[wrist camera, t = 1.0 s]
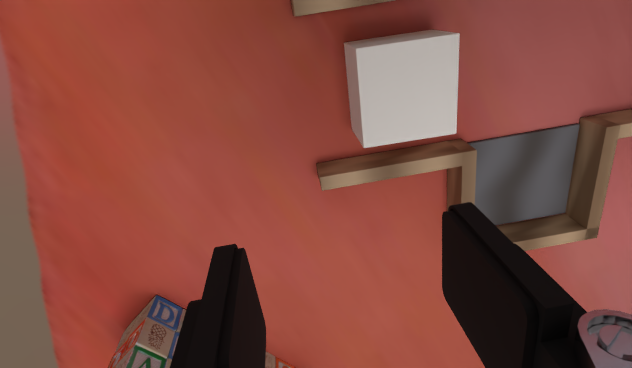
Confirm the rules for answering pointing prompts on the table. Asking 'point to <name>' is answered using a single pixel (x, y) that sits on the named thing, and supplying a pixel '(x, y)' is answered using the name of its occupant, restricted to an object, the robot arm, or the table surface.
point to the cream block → (403, 86)
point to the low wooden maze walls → (504, 169)
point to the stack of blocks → (159, 338)
